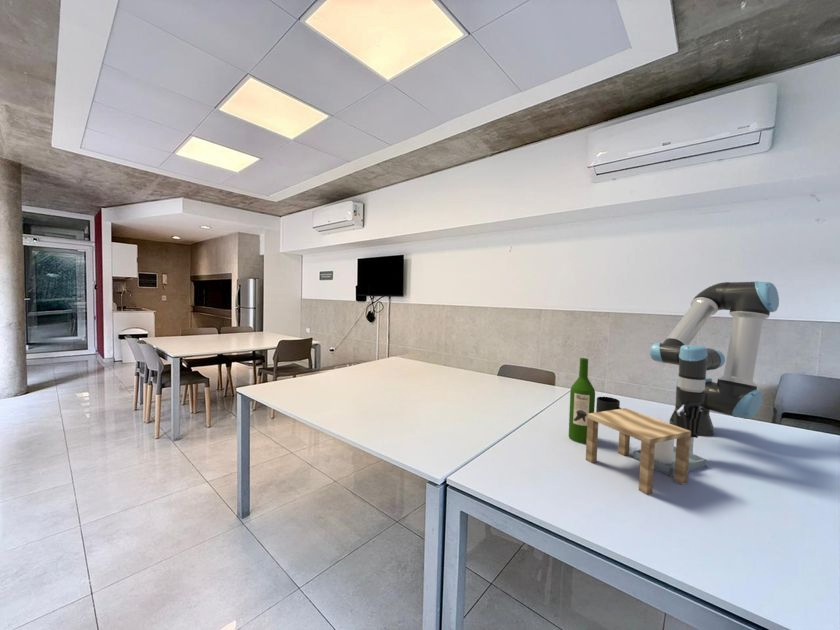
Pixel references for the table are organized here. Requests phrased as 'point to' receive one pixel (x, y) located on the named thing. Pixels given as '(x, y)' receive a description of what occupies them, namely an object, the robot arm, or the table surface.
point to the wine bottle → (581, 404)
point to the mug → (607, 404)
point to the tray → (669, 469)
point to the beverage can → (664, 452)
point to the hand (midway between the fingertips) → (687, 454)
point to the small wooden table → (648, 434)
